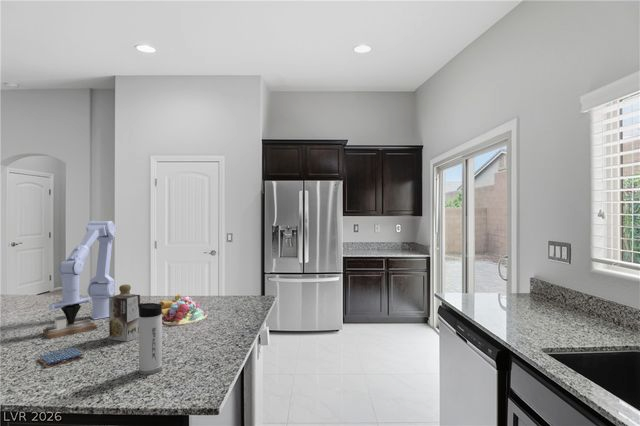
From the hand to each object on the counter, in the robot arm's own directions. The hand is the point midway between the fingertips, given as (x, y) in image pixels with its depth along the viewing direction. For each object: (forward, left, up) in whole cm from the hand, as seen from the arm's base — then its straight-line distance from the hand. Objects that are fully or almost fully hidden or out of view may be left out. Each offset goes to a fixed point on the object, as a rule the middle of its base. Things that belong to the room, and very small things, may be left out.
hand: (70, 323), depth 143 cm
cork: (-29, -26, -3) cm, 39 cm away
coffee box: (-12, +25, -3) cm, 28 cm away
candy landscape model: (-40, +13, -3) cm, 42 cm away
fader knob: (+3, 0, -1) cm, 4 cm away
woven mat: (+9, +31, -4) cm, 33 cm away
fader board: (0, 0, -3) cm, 3 cm away
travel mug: (-7, +61, -3) cm, 61 cm away
